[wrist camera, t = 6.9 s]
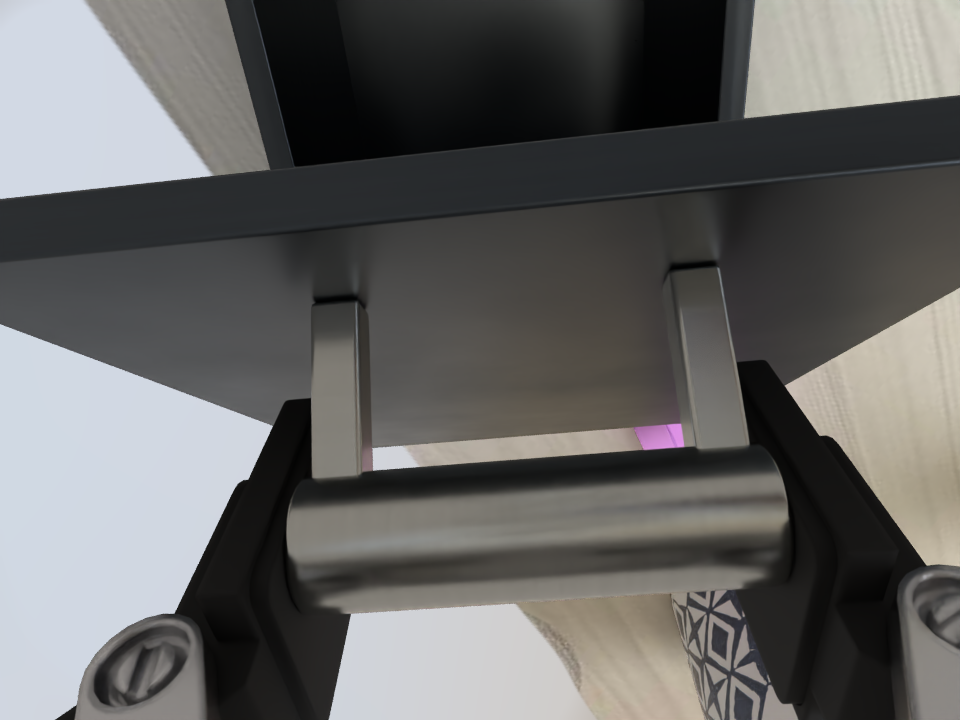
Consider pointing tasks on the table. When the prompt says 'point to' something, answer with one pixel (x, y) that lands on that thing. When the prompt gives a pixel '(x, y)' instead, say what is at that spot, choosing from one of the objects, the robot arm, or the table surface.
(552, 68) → the black storage bin
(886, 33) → the table surface
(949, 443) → the table surface
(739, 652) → the planter
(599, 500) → the bin lid
